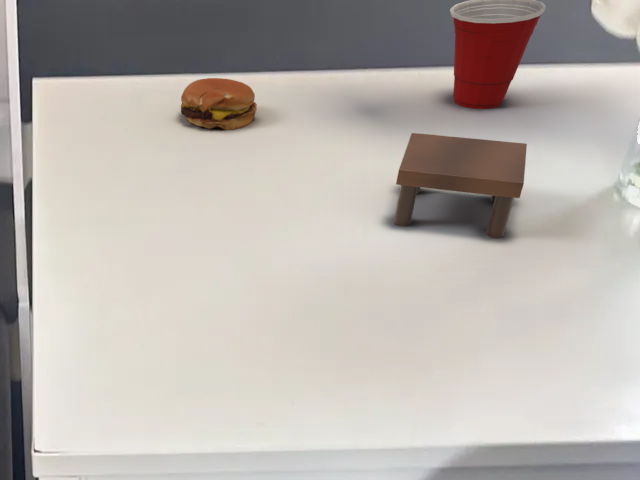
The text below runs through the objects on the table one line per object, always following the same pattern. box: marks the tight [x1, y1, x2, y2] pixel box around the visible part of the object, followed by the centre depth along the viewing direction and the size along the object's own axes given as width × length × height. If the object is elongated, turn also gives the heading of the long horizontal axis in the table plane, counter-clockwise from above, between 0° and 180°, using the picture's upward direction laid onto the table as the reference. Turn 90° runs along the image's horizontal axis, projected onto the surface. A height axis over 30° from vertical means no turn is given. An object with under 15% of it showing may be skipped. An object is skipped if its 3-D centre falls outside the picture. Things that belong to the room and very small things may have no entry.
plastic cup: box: [449, 0, 547, 110], centre depth 120 cm, size 11×11×12 cm
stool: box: [393, 132, 528, 239], centre depth 95 cm, size 11×11×6 cm
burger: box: [180, 77, 258, 131], centre depth 121 cm, size 10×9×5 cm
